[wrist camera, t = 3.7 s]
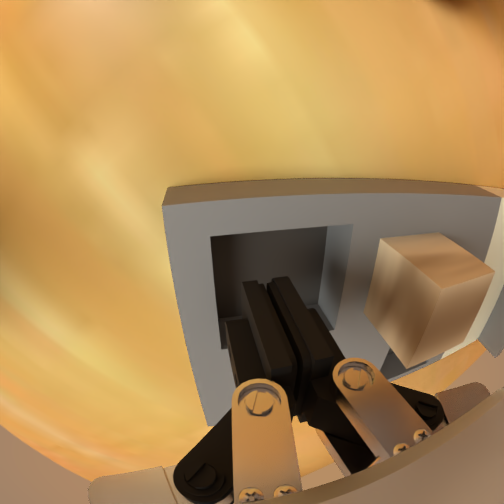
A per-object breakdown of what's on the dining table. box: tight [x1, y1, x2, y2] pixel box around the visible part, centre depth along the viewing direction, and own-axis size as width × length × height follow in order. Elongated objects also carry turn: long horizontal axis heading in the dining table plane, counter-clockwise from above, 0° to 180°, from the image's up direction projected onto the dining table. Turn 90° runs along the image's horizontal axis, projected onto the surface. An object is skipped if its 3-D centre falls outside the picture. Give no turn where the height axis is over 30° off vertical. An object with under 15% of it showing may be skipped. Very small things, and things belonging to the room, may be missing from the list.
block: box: [363, 232, 495, 369], centre depth 11 cm, size 4×4×4 cm
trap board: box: [162, 178, 504, 426], centre depth 14 cm, size 14×26×6 cm, turn 91°
